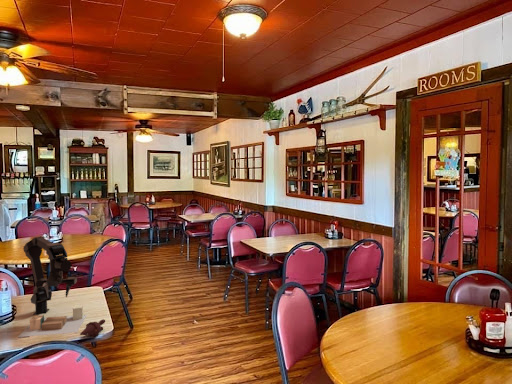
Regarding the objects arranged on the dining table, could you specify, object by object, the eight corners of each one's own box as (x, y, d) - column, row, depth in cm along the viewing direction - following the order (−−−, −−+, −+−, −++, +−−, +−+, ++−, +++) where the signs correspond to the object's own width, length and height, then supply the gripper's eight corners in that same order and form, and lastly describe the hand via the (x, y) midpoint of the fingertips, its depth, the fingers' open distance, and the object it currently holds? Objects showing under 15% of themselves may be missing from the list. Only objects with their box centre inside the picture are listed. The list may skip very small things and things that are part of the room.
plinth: (47, 323, 196) (47, 317, 196) (66, 322, 198) (66, 316, 198) (41, 331, 188) (41, 324, 187) (61, 329, 189) (61, 323, 189)
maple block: (44, 324, 194) (33, 325, 193) (44, 315, 194) (33, 316, 193) (41, 329, 189) (30, 329, 188) (40, 319, 189) (29, 320, 188)
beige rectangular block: (73, 316, 205) (73, 305, 204) (82, 315, 206) (82, 304, 206) (73, 319, 201) (72, 308, 200) (82, 318, 202) (82, 307, 202)
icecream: (88, 330, 174) (111, 320, 188) (76, 324, 177) (99, 315, 191) (84, 344, 175) (107, 334, 189) (72, 337, 177) (96, 328, 191)
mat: (34, 319, 202) (34, 318, 202) (87, 315, 207) (87, 314, 207) (18, 337, 180) (18, 336, 180) (77, 333, 186) (77, 332, 186)
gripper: (30, 273, 190) (31, 304, 191) (71, 271, 194) (72, 301, 195) (38, 267, 201) (39, 296, 202) (76, 266, 204) (77, 294, 206)
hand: (57, 297), depth 201 cm, fingers open, 9 cm apart
